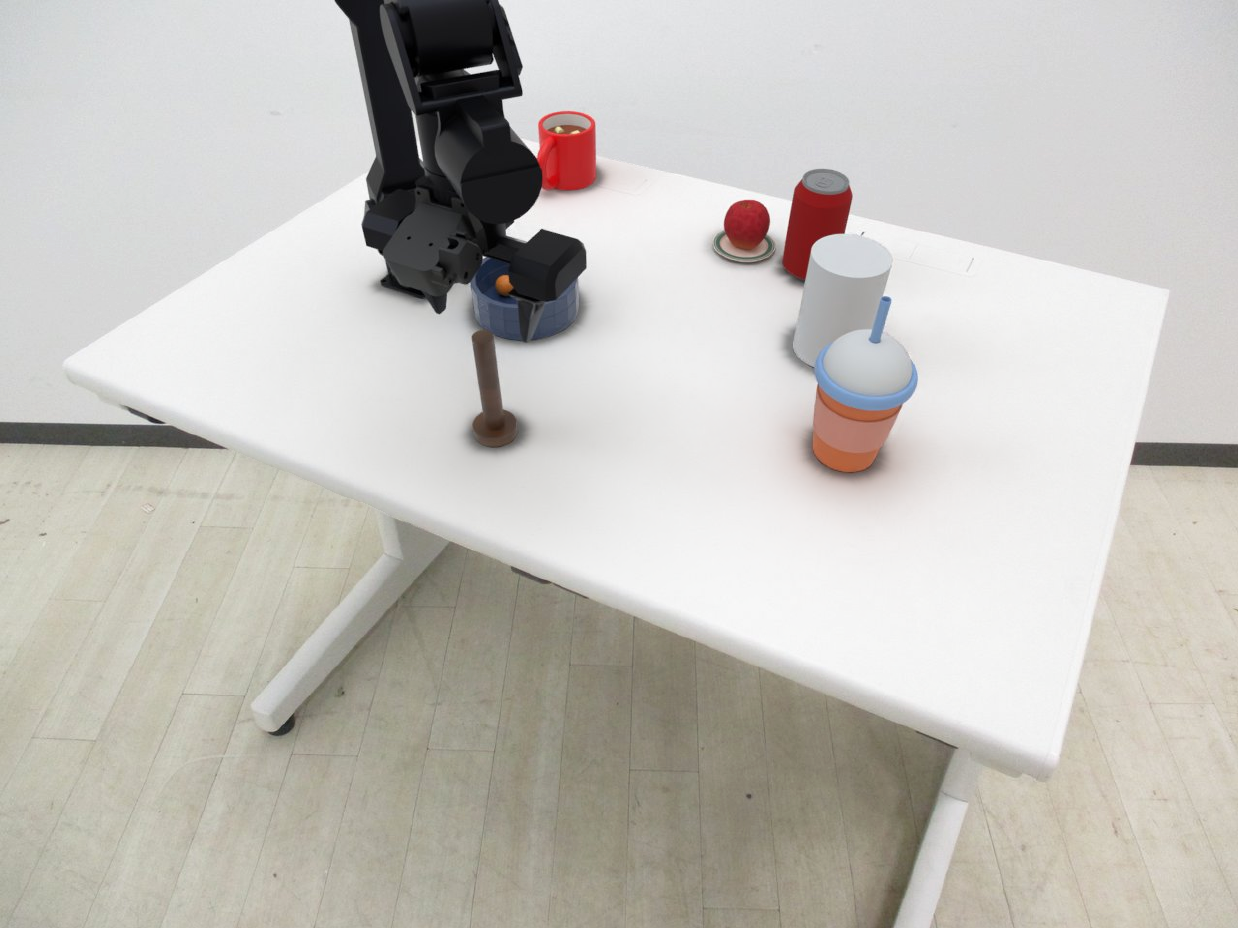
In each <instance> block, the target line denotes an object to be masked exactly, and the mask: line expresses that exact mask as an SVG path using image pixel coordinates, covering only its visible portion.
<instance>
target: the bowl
mask: <svg viewBox="0 0 1238 928" xmlns="http://www.w3.org/2000/svg"><path fill="white" fill-rule="evenodd" d="M509 266H510V264H508V263H504V262H501V261H498V260H494V259H491V258H488V257H483V260H482V264H481V266H480V268H479V269H478V271H477V272H476V274H475V276H474V277H473V279H472V280H471V282H470V283H469V285H470V292H471V298H472V305H473V312H474V316H475V319H476V321H477V323H478V324H479V325H480V326H481V327H482V328H483V330H488V331H490V332H492V333H493V335H494V336H497V337H498V338H502V339H506V340H513V341H522V337H521V333H520V325H519V314H518V303H517V300H516V299H515V298H513V297H511V296H503V295H501V294H499V293H498V292H497V290H496V287H495V283H496V280H497V279H498V278H499V277H500V276H502V275H508V269H509ZM579 283H580V282H579V277H578V278H577V279H576V280H575V281H574V282H573V283H572V284H571V285H570V286H569V287H568V288H567V289H566V290H565V291H564V292H563V293H562V295H561V296H560V297H559V298H558V299H557V300H554V301H549V302H547V303H546V305H545V307H544V310H543V312H542V315H541V317H540V320H539V322H538V325H537V327H536V330H535V332H534V335H533V337H532V338H531V339H530V340H529V341H533V340H534V341H535V340H542V339H545V338H548V337H551V336H555V335H556V334H559V333H560V332H563V331H564V330H566V329H567V328H569V326H570V325H571V324H572V323H574V321H575V320H576V318H577V316H578V314H579V309H580V289H579V288H580V286H579Z"/></svg>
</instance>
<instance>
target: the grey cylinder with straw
mask: <svg viewBox="0 0 1238 928" xmlns="http://www.w3.org/2000/svg"><path fill="white" fill-rule="evenodd" d="M892 301H893V300H892V298H891V297H890V296H887V295H883V297H881V300H880V304H879V307H878V311H877V314H876V318H875V322H874V325H873V329H862V330H856V331H852V332H849V333H847V334H845V335H843V336H841V337H840V338H838V339H837V340H836V341H834V342H832V343H830V344H829V345H827V346H826V347H825V348H824V349H823V350H822V351H821V352H820V353H819V355H818V357H817V359H816V362H815V367H813V368H814V377H815V380H816V382H817V384H816V388H815V389H816V391H815V398H814V409H813V417H812V418H813V419H812V426H813V434H812V451H813V453H814V455H815V457H816V458H817V459H818V461H819V462H820V463H822V464H823V465H824V466H826V467H828V468H830V469H832V470H835V471H837V472H842V473H856V472H860V471H863V470H866V469H868V468H869V467H870V466H871V465H872V464H873V463H874V461H875V459H877V456H878V455H879V452H880V450H881V448H882V446H883V445H884V444H885V443H886V441H887V440H888V438H889V435H890V433H891V431H892V429H893V427H894V425H895V423H896V421H897V419H898V416H899V414H900V412H901V410H902V408H903V405H904V404H905V403H907V401H908V400H909V399H911V397H912V396H913V395H914V393H915V391H916V389H917V387H918V382H919V381H918V380H919V378H918V377H919V376H918V375H919V374H918V370H917V367H916V365H915V363H914V361H912V358H911V357H910V355H909V353H908V351H907V349H906V347H905V346H904V345H903V344H902V343H901V342H900V341H899V340H898V339H897V338H895V337H894V336H893V335H891V334H889V333H888V332H885V331H884V329H885V326H886V321H887V319H888V314H889V311H890V307H891V304H892Z"/></svg>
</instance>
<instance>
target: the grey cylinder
mask: <svg viewBox="0 0 1238 928" xmlns="http://www.w3.org/2000/svg"><path fill="white" fill-rule="evenodd" d="M892 265H893V255H892V254H891V252H890V250H889V249H888V248H887V247H886V246H885V245H883V244H882V243H880V241H877V240H875V239H873V238H870V237H868V236H864V235H859V234H854V233H845V234H834V235H829V236H826V237H823V238H821V239H819V240H818V241H816V242H815V243H814V245H813V246H812V249H811V254H810V259H809V264H808V270H807V275H806V280H804V284H803V285H804V286H803V290H802V296H801V300H800V306H799V310H798V316H797V320H796V325H795V331H794V335H793V340H792V341H793V342H792V348H793V351H794V354H795V356H796V357H797V358H798V359H799V360H800V361H802V362H803V363H804V364H805V365H808V366H809V367H811V368H814V367H815V362H816V359H817V357H818V355H819V353H820V352H821V351H822V350H823V349H824V348H825V347H826V346H827V345H829V344H830V343H832V342H834V341H836V340H837V339H838V338H840V337H841V336H843V335H845V334H847V333H849V332H852V331H856V330H862V329H873V325H874V322H875V318H876V314H877V311H878V307H879V304H880V300H881V297H883V296H884V294H885V291H886V287H887V284H888V283H887V282H888V280H889V276H890V272H891V269H892Z"/></svg>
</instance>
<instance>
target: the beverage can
mask: <svg viewBox="0 0 1238 928" xmlns="http://www.w3.org/2000/svg"><path fill="white" fill-rule="evenodd" d="M850 184H851V183H850V179H849V177H848V176H847V175H845V174H844V173H842V172H840V171H838V170H834V169H831V168H830V169H829V168H814V169H811V170H808V171H806V172H805V173H804V174H803V175H802V178H801V180H800V181H798V183H797V184H796V185H795V187H794V190H793V195H792V201H791V204H790V205H791V206H790V212H789V218H788V222H787V228H786V236H785V241H784V247H783V254H782V266H783V268H784V269H785V270H786V271H787V272H788V273H789V274H790V275H792V276H794V277H796V278H798V279H800V280H803V281H805V280H806V275H807V270H808V264H809V259H810V254H811V249H812V246H813V245H814V243H815V242H816V241H818V240H819V239H821V238H823V237H826V236H829V235H834V234H846V230H847V226H848V225H847V224H848V221H849V216H850V211H851V207H852V202H853V191H852V189H851V185H850Z"/></svg>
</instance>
